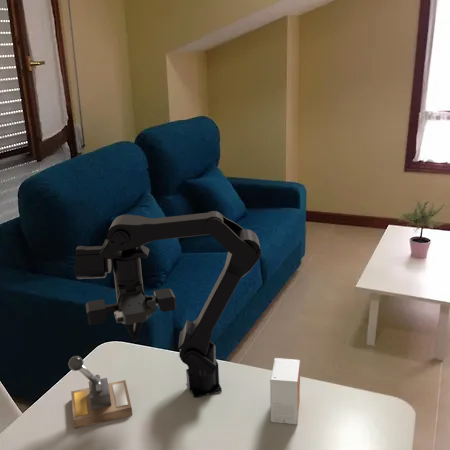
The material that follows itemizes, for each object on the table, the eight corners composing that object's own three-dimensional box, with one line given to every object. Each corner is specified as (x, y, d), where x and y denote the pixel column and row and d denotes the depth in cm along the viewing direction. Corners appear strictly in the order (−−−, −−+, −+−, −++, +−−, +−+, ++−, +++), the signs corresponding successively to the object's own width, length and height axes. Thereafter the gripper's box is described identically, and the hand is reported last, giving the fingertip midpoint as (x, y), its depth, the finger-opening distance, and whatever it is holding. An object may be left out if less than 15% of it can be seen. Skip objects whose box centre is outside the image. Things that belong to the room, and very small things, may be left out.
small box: (297, 425, 110) (298, 382, 106) (270, 422, 111) (269, 379, 107) (300, 400, 117) (300, 359, 114) (274, 398, 118) (274, 356, 115)
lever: (104, 374, 118) (76, 348, 114) (106, 387, 114) (77, 361, 110) (93, 383, 118) (65, 357, 114) (95, 396, 113) (65, 370, 109)
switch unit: (126, 387, 124) (123, 368, 122) (132, 414, 115) (130, 395, 113) (72, 398, 120) (69, 380, 119) (74, 428, 111) (71, 408, 110)
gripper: (84, 300, 103) (94, 369, 108) (180, 284, 108) (184, 351, 113) (81, 276, 113) (90, 341, 119) (168, 263, 118) (173, 325, 123)
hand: (135, 340), depth 118 cm, fingers closed
